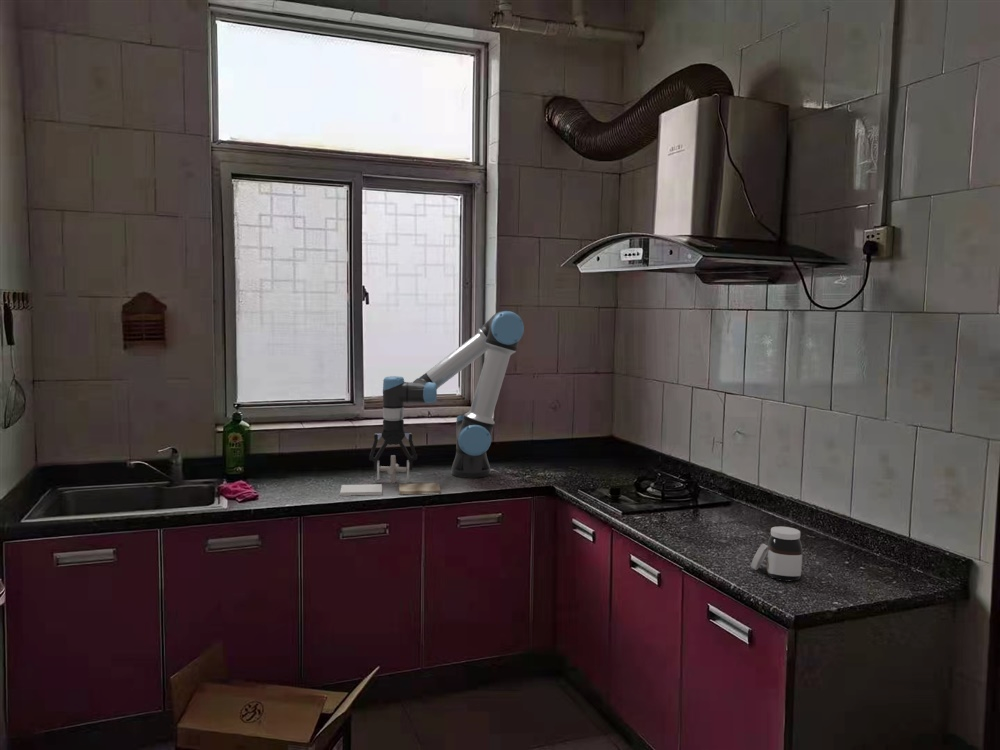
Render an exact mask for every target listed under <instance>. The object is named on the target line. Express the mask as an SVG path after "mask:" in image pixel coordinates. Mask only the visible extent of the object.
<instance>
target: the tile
mask: <svg viewBox="0 0 1000 750" xmlns="http://www.w3.org/2000/svg"><path fill="white" fill-rule="evenodd" d="M340 487H341V488H340V491H339V496H340V497H352V496H351V495H365V496H383V495H382V494H383V484H382V483H380V484H379V483H376V484H375V483H374V484H341V486H340Z"/></svg>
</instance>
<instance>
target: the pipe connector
mask: <svg viewBox="0 0 1000 750" xmlns="http://www.w3.org/2000/svg"><path fill="white" fill-rule="evenodd" d="M379 472H387V473H388V475H390V483H391V482H392V483H391V484H395V482H396V481H397V480H396V478H397V477H396V476H397V475H396V474H397V473H396V472H398V473H407V466H400V464H398V463H397V459H396V455H395V454H393V455H392V454H391V455H390V465H389V466H388V465H387V466H384V465H383V466H382V465H379ZM396 483H397V482H396Z"/></svg>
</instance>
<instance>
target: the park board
mask: <svg viewBox="0 0 1000 750" xmlns="http://www.w3.org/2000/svg"><path fill="white" fill-rule="evenodd" d="M422 493H440V494H441V488H440V484H439V483H438V482H436V483H435V482H434V483H433V482H431V483H430V482H428V483H427V482H425V483H424V482H423V483H399V484H398V494H399V496H400V495H401V496H402V495H403V494H414V495H423V494H422ZM403 496H404V495H403Z"/></svg>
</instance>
